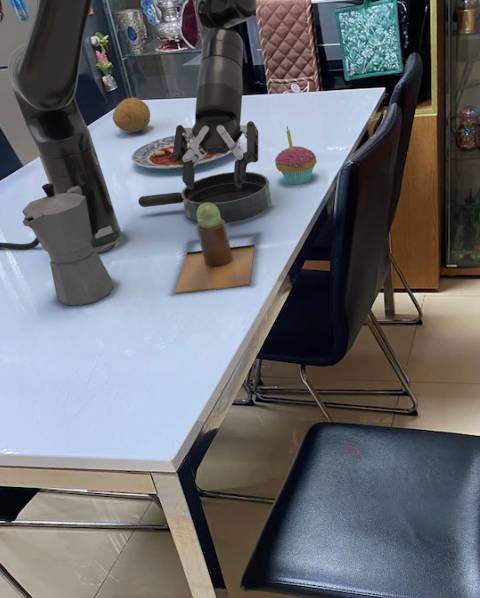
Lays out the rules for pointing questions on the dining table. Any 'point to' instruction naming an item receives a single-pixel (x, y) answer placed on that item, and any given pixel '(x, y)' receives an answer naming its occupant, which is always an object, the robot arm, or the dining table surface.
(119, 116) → the potato
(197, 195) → the pan
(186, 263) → the placemat
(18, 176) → the dining table surface
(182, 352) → the dining table surface
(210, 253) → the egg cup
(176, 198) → the pan handle
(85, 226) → the coffeepot
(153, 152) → the ceramic plate
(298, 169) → the cupcake
